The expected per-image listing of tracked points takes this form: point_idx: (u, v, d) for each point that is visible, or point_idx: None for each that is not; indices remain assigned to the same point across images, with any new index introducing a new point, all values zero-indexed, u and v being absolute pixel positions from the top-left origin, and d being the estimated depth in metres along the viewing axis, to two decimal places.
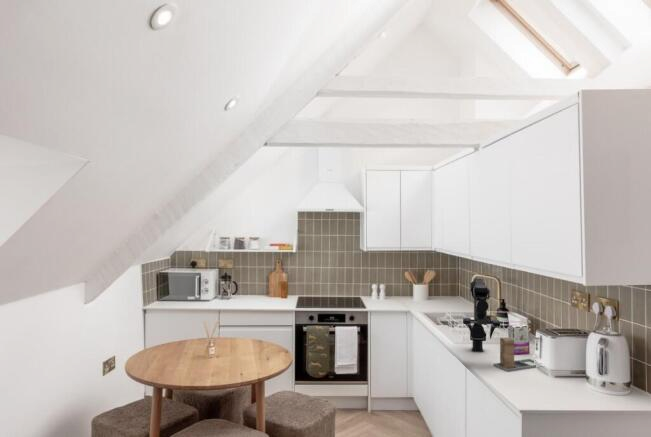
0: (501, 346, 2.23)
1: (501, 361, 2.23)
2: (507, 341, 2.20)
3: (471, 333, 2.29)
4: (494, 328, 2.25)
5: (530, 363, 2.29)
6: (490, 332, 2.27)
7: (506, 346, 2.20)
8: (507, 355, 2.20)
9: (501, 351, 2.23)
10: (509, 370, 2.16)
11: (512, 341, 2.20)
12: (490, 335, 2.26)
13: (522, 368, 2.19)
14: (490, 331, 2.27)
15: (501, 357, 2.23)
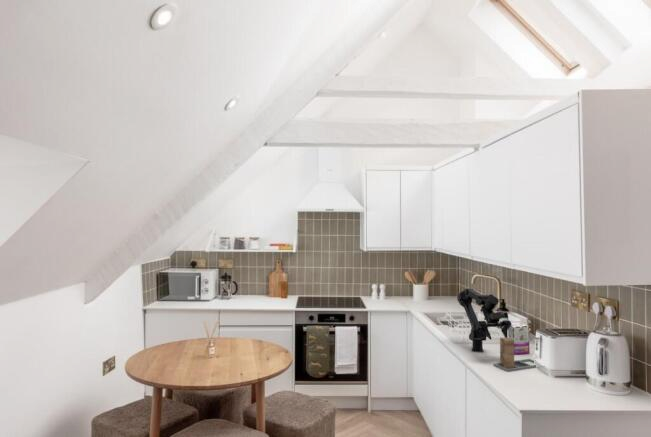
0: (501, 346, 2.23)
1: (501, 361, 2.23)
2: (507, 341, 2.20)
3: (489, 334, 2.31)
4: (507, 327, 2.34)
5: (530, 363, 2.29)
6: (504, 333, 2.33)
7: (506, 346, 2.20)
8: (507, 355, 2.20)
9: (501, 351, 2.23)
10: (509, 370, 2.16)
11: (512, 341, 2.20)
12: (506, 334, 2.31)
13: (522, 368, 2.19)
14: (504, 332, 2.34)
15: (501, 357, 2.23)
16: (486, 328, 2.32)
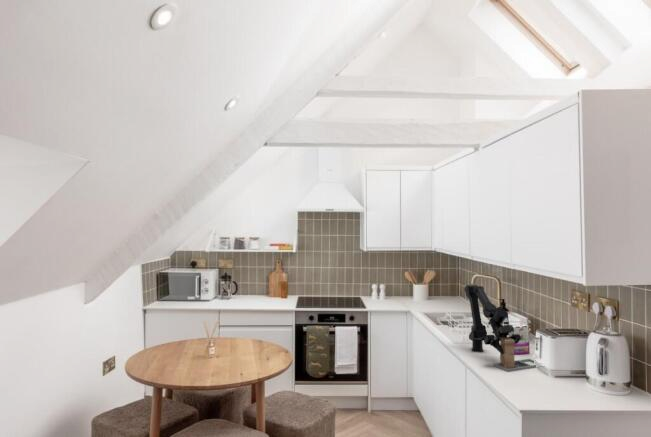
0: (502, 346, 2.23)
1: (501, 361, 2.23)
2: (507, 341, 2.20)
3: (501, 349, 2.21)
4: None
5: (530, 363, 2.29)
6: None
7: (506, 346, 2.20)
8: (507, 355, 2.20)
9: None
10: (509, 370, 2.16)
11: (512, 341, 2.20)
12: None
13: (522, 368, 2.19)
14: None
15: (501, 357, 2.23)
16: (498, 342, 2.23)
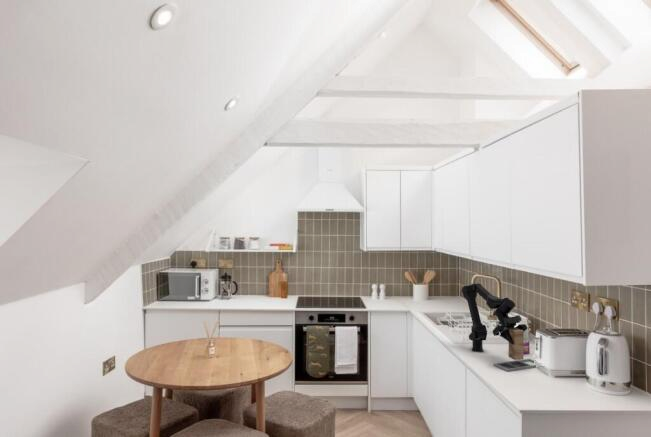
0: (511, 337, 2.23)
1: (509, 352, 2.24)
2: (517, 332, 2.21)
3: (511, 339, 2.22)
4: None
5: (530, 363, 2.29)
6: None
7: (516, 337, 2.20)
8: (517, 346, 2.20)
9: None
10: (509, 370, 2.16)
11: (522, 332, 2.21)
12: None
13: (522, 368, 2.19)
14: None
15: (510, 348, 2.24)
16: (508, 333, 2.24)
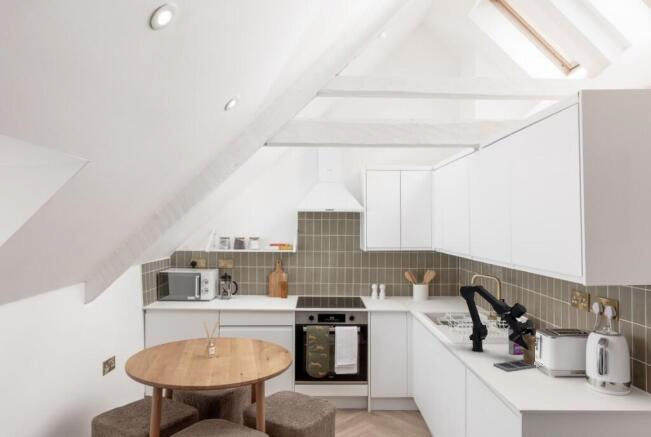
0: (526, 344, 2.27)
1: (524, 359, 2.28)
2: (533, 338, 2.25)
3: None
4: (534, 334, 2.33)
5: None
6: None
7: (532, 343, 2.25)
8: (533, 352, 2.25)
9: (525, 349, 2.27)
10: (509, 370, 2.16)
11: None
12: None
13: (522, 368, 2.19)
14: None
15: (525, 354, 2.28)
16: (522, 338, 2.26)
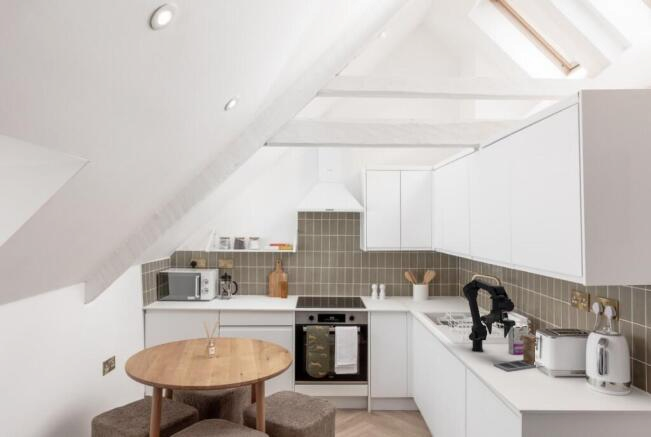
0: (526, 344, 2.27)
1: (524, 359, 2.28)
2: (533, 338, 2.25)
3: (488, 330, 2.41)
4: (505, 328, 2.31)
5: None
6: None
7: (532, 343, 2.25)
8: (533, 352, 2.25)
9: (525, 349, 2.27)
10: (509, 370, 2.16)
11: None
12: (504, 334, 2.34)
13: (522, 368, 2.19)
14: None
15: (525, 354, 2.28)
16: (486, 324, 2.42)
